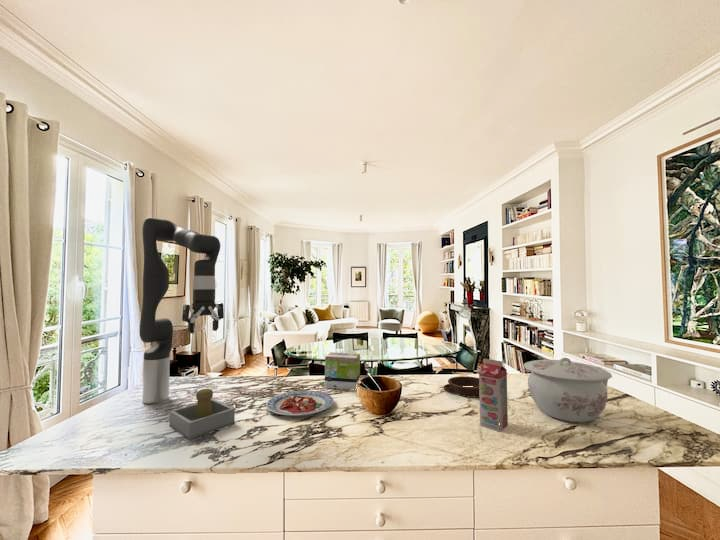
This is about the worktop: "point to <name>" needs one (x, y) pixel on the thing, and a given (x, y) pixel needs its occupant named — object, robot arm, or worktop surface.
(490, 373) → the juice carton
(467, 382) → the dish
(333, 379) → the tea box
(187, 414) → the bin
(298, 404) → the ceramic plate
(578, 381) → the chamber pot
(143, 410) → the worktop surface
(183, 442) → the worktop surface
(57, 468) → the worktop surface
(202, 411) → the cork
